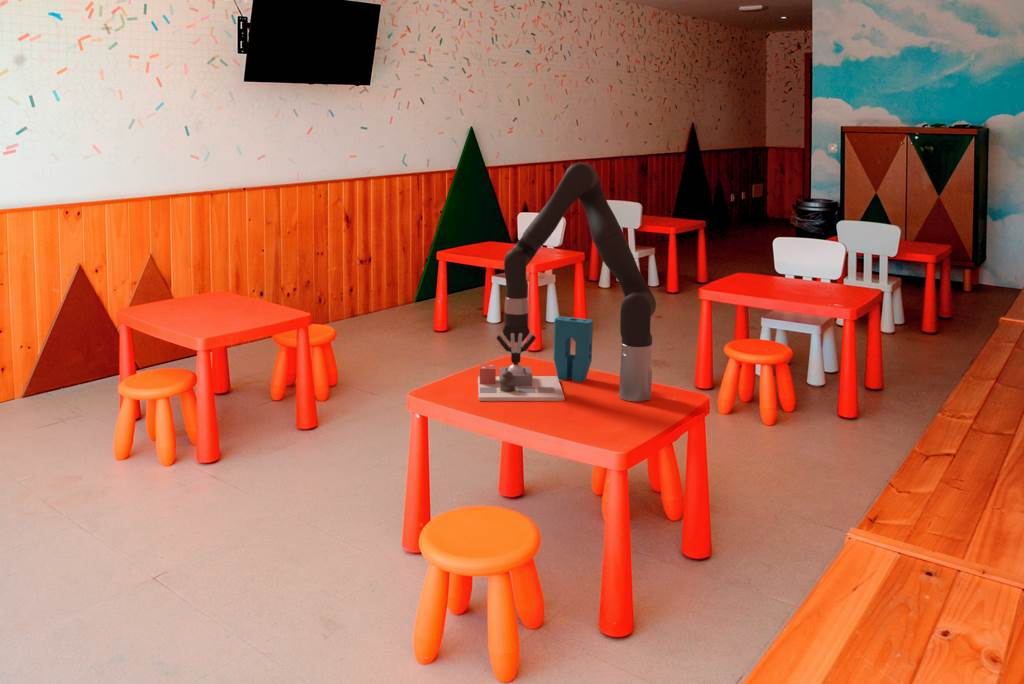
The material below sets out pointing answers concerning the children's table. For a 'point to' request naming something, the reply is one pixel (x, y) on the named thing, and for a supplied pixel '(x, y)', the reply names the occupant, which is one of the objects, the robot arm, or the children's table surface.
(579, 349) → the block
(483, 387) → the game board
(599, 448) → the children's table surface
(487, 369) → the die
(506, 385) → the pawn
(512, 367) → the dome
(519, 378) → the dome housing
